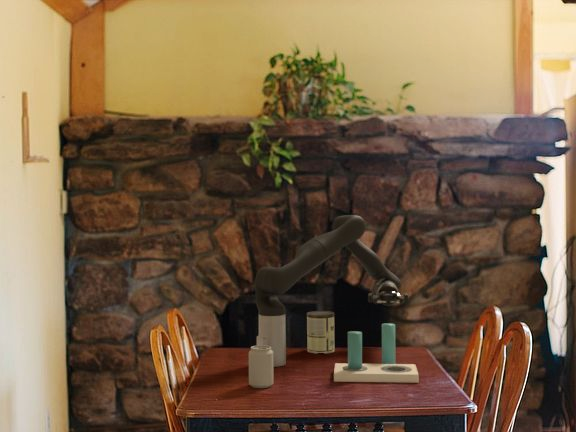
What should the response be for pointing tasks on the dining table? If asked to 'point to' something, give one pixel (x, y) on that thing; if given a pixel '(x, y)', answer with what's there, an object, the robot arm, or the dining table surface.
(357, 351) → the seated pin
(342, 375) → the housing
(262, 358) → the can
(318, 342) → the coffee can
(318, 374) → the dining table surface
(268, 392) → the dining table surface
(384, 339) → the pin
